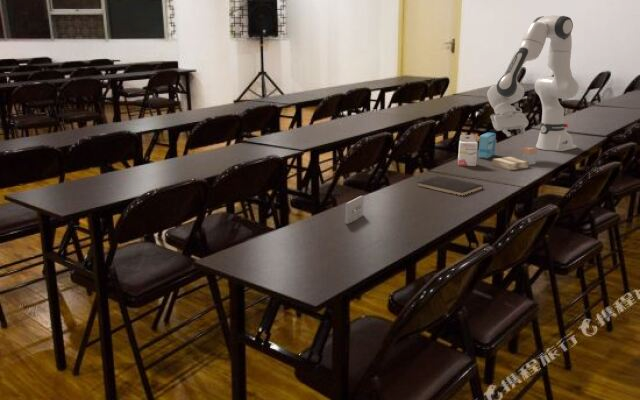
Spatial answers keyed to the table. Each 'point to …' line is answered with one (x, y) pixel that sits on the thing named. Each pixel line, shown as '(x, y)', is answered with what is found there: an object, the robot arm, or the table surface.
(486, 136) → the data package
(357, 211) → the cassette
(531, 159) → the block
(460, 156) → the ink cartridge box
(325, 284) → the table surface
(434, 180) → the hardcover book
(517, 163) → the birch stand
